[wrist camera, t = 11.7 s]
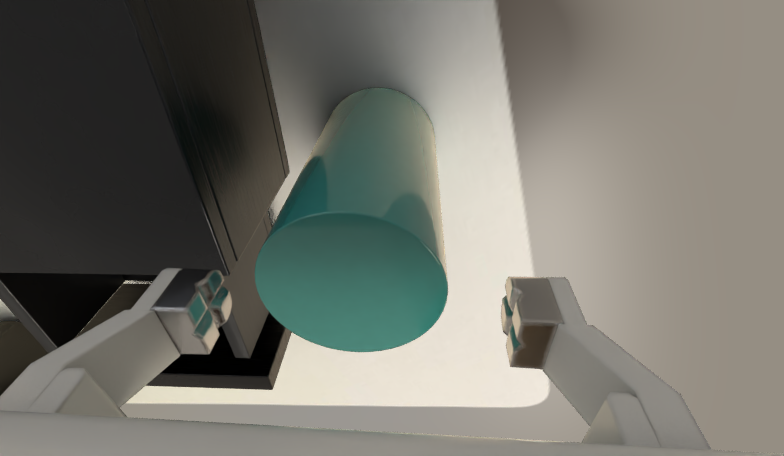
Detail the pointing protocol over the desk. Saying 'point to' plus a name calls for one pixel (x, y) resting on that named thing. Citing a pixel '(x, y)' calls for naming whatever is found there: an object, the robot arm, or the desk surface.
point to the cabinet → (133, 135)
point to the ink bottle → (16, 352)
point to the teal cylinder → (361, 231)
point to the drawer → (91, 291)
